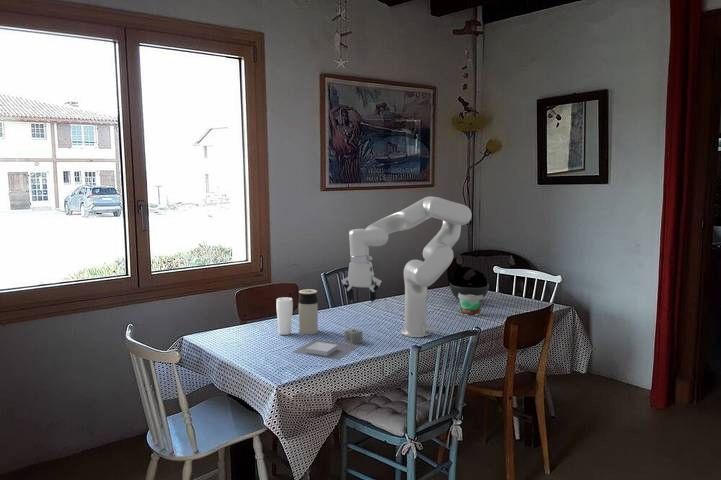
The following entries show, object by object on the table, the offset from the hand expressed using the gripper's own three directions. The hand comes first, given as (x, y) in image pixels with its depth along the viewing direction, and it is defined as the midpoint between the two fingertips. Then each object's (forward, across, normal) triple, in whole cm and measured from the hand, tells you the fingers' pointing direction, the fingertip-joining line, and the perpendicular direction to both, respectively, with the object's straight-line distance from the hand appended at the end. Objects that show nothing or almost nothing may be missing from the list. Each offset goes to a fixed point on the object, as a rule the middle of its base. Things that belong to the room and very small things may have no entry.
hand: (362, 300), depth 242 cm
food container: (+20, -31, -55) cm, 66 cm away
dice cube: (+16, +1, +8) cm, 18 cm away
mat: (+15, +7, +21) cm, 27 cm away
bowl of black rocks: (+21, -26, -79) cm, 86 cm away
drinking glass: (+14, +33, +8) cm, 37 cm away
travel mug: (+15, +25, +2) cm, 29 cm away
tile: (+13, +7, +20) cm, 25 cm away
